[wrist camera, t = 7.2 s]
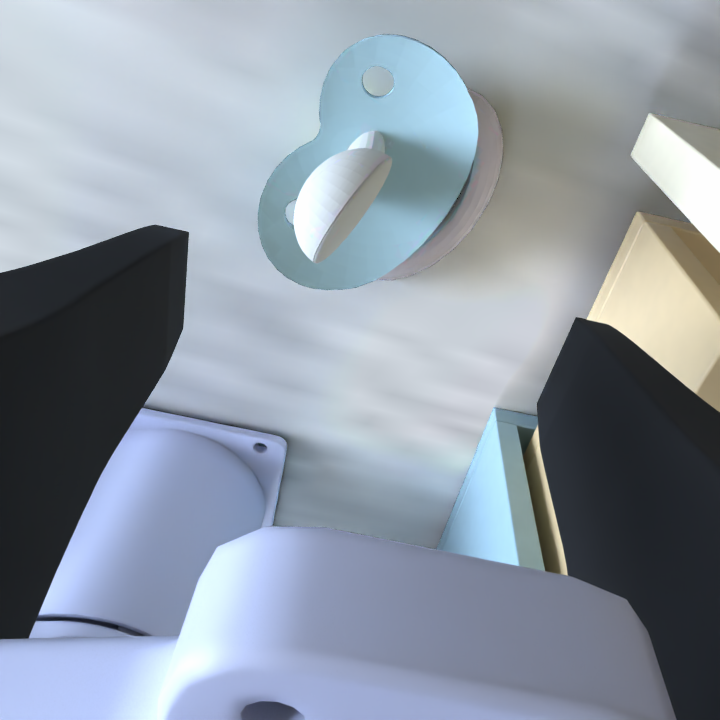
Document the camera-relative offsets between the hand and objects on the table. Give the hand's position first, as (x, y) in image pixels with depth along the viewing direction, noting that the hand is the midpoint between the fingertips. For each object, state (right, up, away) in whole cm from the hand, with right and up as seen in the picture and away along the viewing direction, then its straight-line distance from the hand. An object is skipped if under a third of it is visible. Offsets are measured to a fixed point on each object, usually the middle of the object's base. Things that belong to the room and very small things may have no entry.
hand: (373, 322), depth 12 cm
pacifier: (+1, +5, +8) cm, 9 cm away
